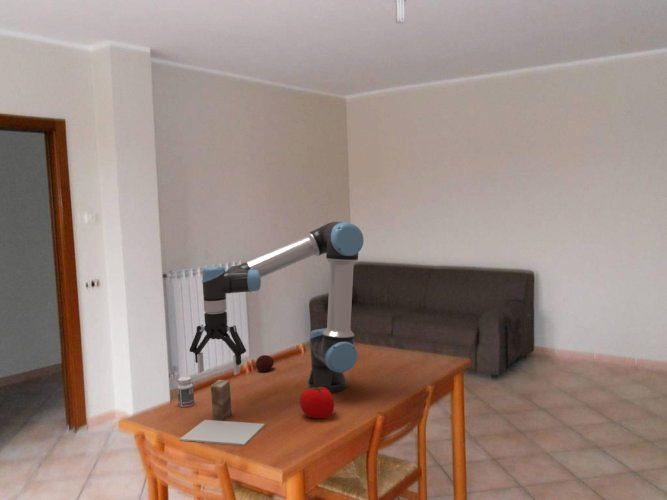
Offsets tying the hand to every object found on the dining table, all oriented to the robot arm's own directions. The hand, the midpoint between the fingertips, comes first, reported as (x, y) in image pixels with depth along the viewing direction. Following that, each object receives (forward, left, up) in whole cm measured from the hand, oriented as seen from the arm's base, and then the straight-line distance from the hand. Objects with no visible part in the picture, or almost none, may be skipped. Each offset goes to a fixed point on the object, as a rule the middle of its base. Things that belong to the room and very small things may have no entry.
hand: (218, 373), depth 201 cm
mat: (-7, +13, -16) cm, 21 cm away
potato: (+7, -54, -16) cm, 57 cm away
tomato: (-33, -6, -16) cm, 37 cm away
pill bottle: (+19, -9, -16) cm, 26 cm away
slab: (0, 0, -16) cm, 16 cm away
